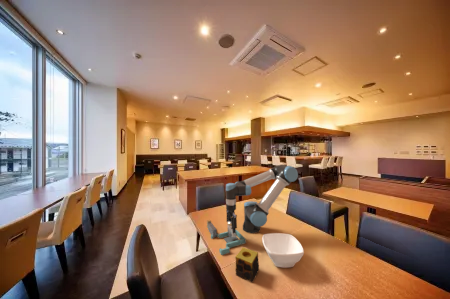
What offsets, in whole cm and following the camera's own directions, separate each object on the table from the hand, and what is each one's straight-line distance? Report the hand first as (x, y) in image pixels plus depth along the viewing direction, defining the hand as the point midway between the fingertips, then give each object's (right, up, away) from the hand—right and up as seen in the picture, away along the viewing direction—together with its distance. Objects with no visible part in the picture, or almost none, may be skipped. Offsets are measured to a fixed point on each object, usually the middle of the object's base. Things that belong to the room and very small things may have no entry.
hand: (231, 234), depth 117 cm
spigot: (0, 0, 0) cm, 0 cm away
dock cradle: (-2, -4, -2) cm, 5 cm away
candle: (+7, -4, -32) cm, 33 cm away
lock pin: (-16, -5, +12) cm, 21 cm away
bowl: (+29, -3, -24) cm, 38 cm away
